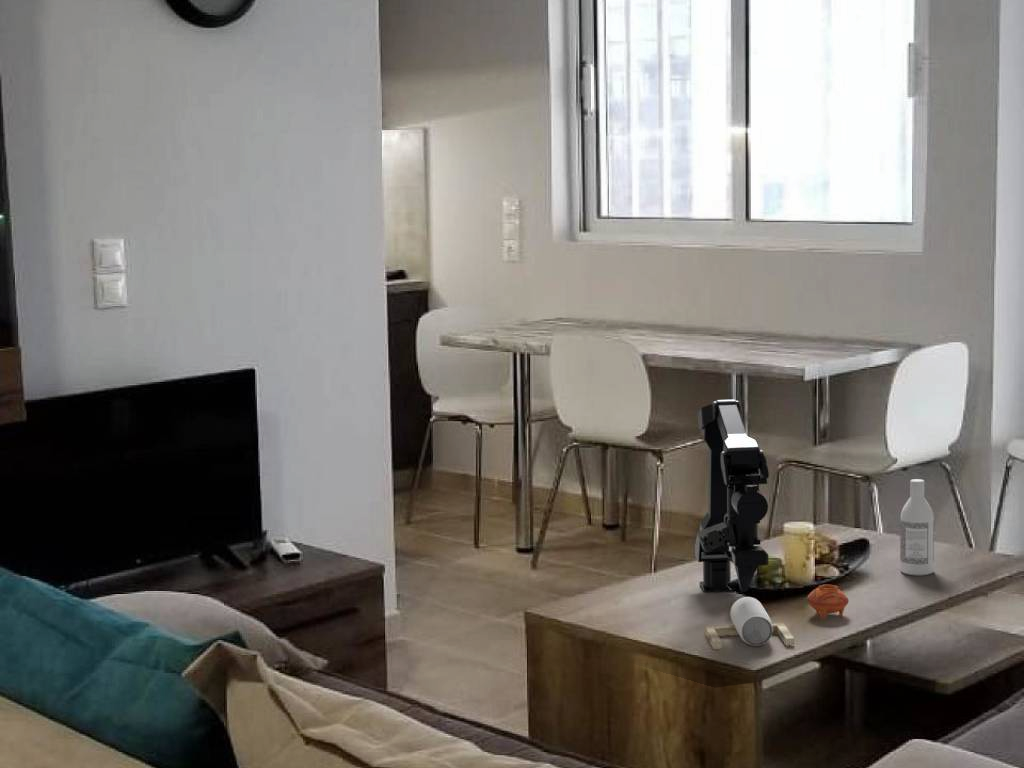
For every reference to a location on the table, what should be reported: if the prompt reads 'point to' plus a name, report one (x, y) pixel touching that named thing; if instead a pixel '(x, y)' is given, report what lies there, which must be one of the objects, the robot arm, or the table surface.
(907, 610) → the table surface
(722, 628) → the cradle
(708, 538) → the robot arm
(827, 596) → the pot
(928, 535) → the bath foam
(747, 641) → the can
